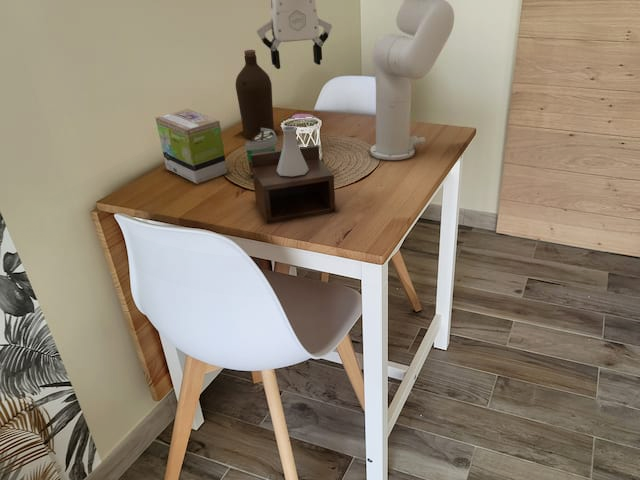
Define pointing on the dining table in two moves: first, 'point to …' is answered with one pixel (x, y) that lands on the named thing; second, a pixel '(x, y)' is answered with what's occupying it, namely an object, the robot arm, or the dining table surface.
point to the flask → (291, 155)
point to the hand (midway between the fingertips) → (297, 65)
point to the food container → (261, 144)
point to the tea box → (192, 145)
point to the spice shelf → (292, 187)
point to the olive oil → (254, 97)
